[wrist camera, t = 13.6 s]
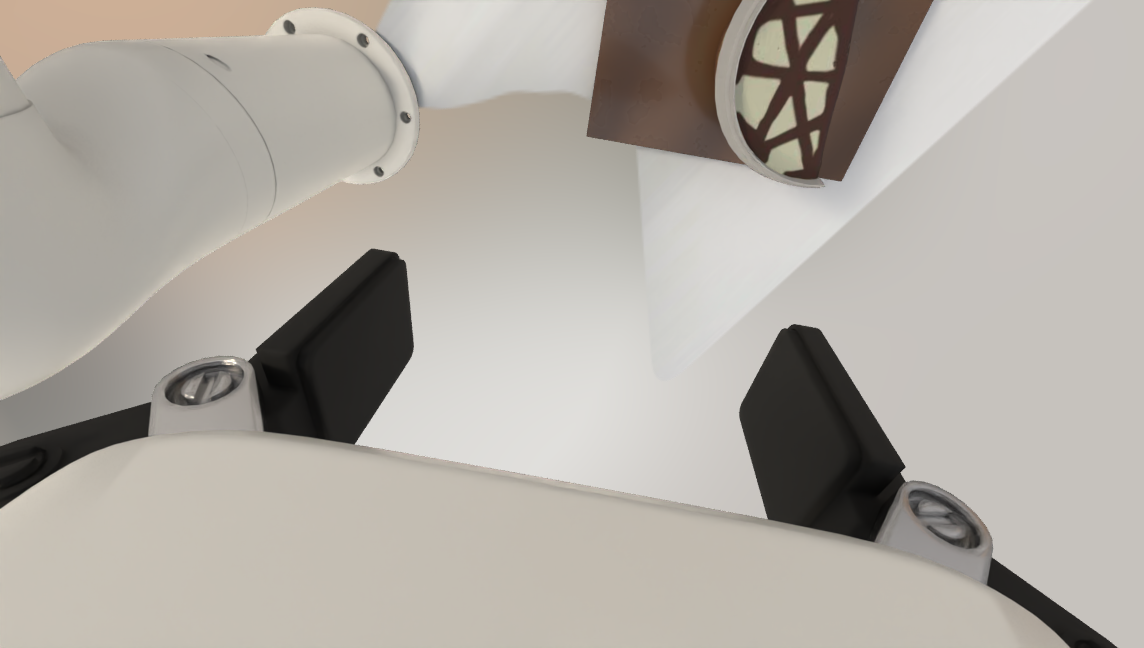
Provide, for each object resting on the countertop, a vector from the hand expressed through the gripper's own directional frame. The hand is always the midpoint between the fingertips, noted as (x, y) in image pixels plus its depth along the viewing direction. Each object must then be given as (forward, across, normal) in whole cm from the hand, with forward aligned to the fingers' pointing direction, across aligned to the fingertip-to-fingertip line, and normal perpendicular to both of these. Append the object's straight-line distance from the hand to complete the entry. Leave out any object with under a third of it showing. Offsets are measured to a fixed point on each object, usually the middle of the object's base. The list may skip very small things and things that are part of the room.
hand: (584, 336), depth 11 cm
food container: (+27, -8, -6) cm, 29 cm away
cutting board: (+28, -8, -6) cm, 30 cm away
